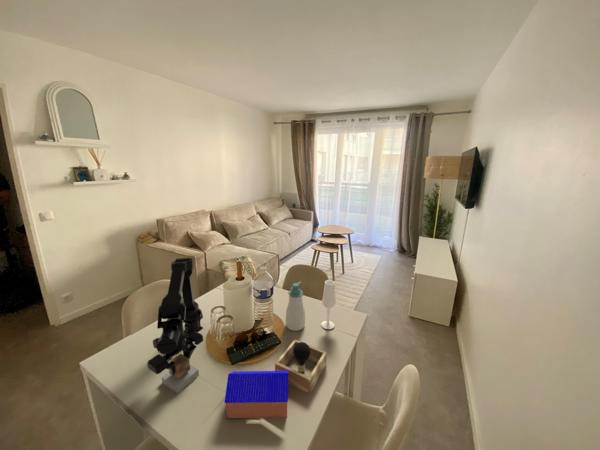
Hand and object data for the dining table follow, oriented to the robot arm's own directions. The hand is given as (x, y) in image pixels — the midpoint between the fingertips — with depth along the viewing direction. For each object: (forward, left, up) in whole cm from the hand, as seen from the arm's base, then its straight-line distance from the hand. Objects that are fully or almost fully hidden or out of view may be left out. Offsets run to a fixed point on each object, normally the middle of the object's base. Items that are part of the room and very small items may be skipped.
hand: (179, 369), depth 90 cm
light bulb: (-26, +38, -5) cm, 46 cm away
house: (-8, +31, -5) cm, 33 cm away
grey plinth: (0, 0, -5) cm, 5 cm away
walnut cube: (0, 0, -1) cm, 1 cm away
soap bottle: (-49, +22, -5) cm, 54 cm away
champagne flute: (-57, +36, -5) cm, 68 cm away
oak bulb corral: (-26, +38, -4) cm, 46 cm away
